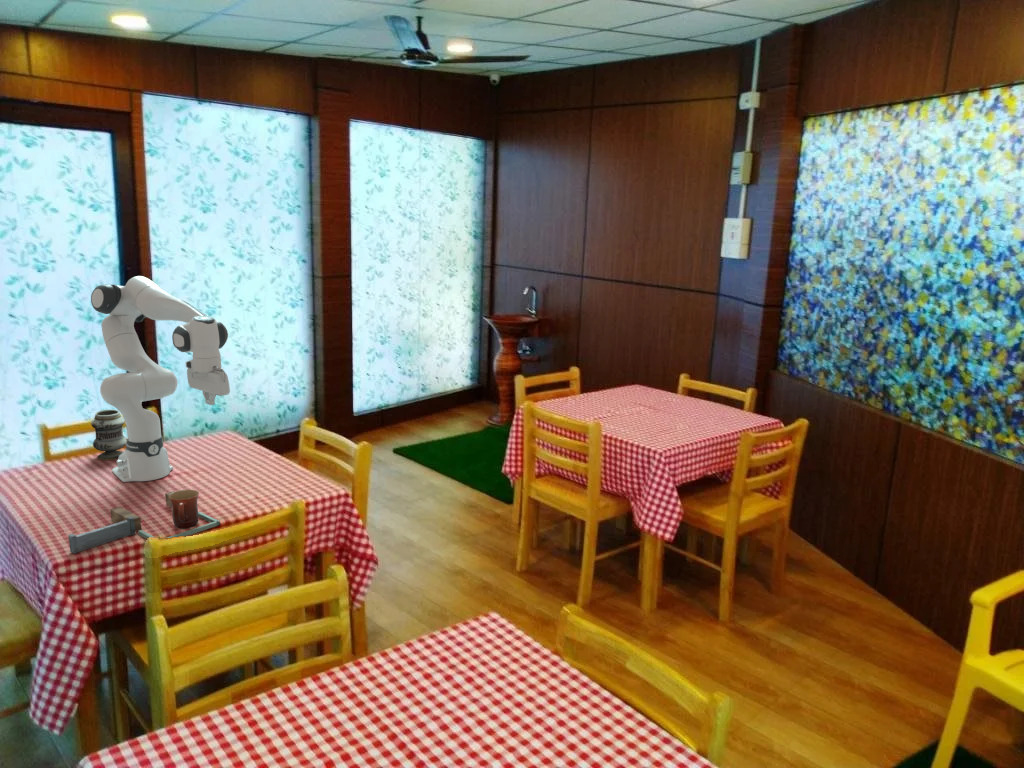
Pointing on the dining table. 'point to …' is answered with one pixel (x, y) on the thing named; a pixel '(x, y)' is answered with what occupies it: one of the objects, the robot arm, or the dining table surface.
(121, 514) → the wooden blocks
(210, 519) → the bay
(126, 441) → the robot arm
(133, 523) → the gate
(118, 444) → the apothecary jar
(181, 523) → the mug
